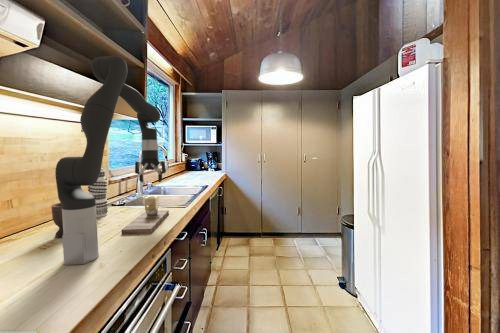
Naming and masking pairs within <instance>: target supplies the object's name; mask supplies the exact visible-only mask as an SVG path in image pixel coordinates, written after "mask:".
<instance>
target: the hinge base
mask: <svg viewBox="0 0 500 333" xmlns="http://www.w3.org/2000/svg"><path fill="white" fill-rule="evenodd" d="M149 198H154V197H149ZM158 209H159V208H158ZM158 209H157V210H151V211H150V212H148V213H146V210H144V211H143V212H142V213H141V214H140V215H139V216H137V217H136V218H135V219H133V220H132V221H131V222H129V223H128V224H127V225H125V226H124V227H122V228H121V230H120V231H121V235H140V234H141V235H143V234H146V235H147V234H148V235H149V234H152V233H153V232H154V231H155V230H156V229H157V228H158V227H159V226H160V225H161V223H162V222H163V221H164V220H165V219H166V218H167V217H168V216H169V214H170V213H169V212H170V210H169V209H168V210H164V209H163V210H158ZM166 216H167V217H166Z"/></svg>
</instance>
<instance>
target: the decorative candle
mask: <svg viewBox="0 0 500 333" xmlns="http://www.w3.org/2000/svg"><path fill="white" fill-rule="evenodd" d="M105 172H106V170H105V169H104V168H103V167H101V171H100V175H99V178H98V180H97V181H96V182H95V183H94V184H93V185H89V186H87V189H88V190H87V191H88V194H90V195H92V196H94V197H95V200H96V218H100V217H101V218H102V217H105V216H108V215H109V211H108V209H109V208H108V204H107V203H108V200H107V194H108V193H107V190H108V188H107V187H108V185H107V183H108V182H107V181H106V180H108V178H107V177H106V173H105Z"/></svg>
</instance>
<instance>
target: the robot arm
mask: <svg viewBox="0 0 500 333" xmlns="http://www.w3.org/2000/svg"><path fill="white" fill-rule="evenodd" d="M91 71H92V73H93V75H94V77H95V78H96V79H97V80H98V81H99V82H101V83H102V85H101V86H100V87H99V88H98V89H97V90H96V91H95V92H94V93H93V94H92V95H90V97H89V98H88V99H87V100H86V102H85V104H84V106H83V108H82V113H81V114H80V121H79V122H80V126H81V129H82V131H83V133H84V135H85V139H86V146H85V150H84V153H83V155H82V156H64V157H61V158H60V159H59V160H58V161H57V163H56V166H55V183H56V189H57V190H56V191H57V197H58V201H59V203H61V205H62V218H63V234H64V235H63V236H62V238H61V240H62V251H63V265H64V266H71V265H85V264H87V263H89V262H92V261H94V260H96V259H97V258H98V257H99V256H100V254H99V240H98V239H99V238H98V220H97V218H98V217H96V200H95V197H94V196H92V195H90V194H89V192H88V193H87V192H86V191H85V190H83V188H82V187H88V186H89V185H93V184H94V183H95V182H96V181H97V180H98V178H99V175H100V171H101V168H102V164H103V157H104V151H105V148H106V143H107V138H108V135H109V131H110V128H111V125H112V123H113V122H112V121H113V118H114V115H115V110H116V107H117V103H118V101H119V97H121V99H122V100H123V101H124V102H125V103H127V105H128V106H129V107H130V108H131V109H132V110H133V111H134V112H135V113H136V118H137V121H138V125H139V127H140V130H141V161H139V160H137V161H135V163H134V174H137V175H139V176H138V178H139V179H138V180H139V182H140V183H145V181H144V173H145V172H146V171H156V173H158V176H157V177H158V180H157V181H158V183H161V182H163V181H162V180H163V175H164V174H165V173H166V172H167V169H166V161H165V160H161V161H160V160H159V145H158V143H159V142H158V133H157V128H155V127H150V126H149V124H150V123H151V124H152V123H153V124H155V123H157V122H159V121H160V120H161V112H160V111H159V109H158V108H157V107H155V106H154V105H153V104H152V103H150V102H148V101H147V100H146V98H145V97H144V96H143V95H142V94H141V93H140V92H139V91H138V90H137V89H135V88H133V87H132V86H131V85H128V84H126V80H127V77H128V72H129V70H128V64H127V62H126V60H125V59H124V58H123V57H122V56H119V55H105V56H98V57H95V58H94V59H92V61H91ZM159 165H160V166H161V169H160V167H159ZM140 166H142V168H141V169H140Z"/></svg>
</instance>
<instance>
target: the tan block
mask: <svg viewBox="0 0 500 333" xmlns="http://www.w3.org/2000/svg"><path fill="white" fill-rule="evenodd" d="M149 197H154V198H149ZM159 204H160V202H159V196H158V195H149V196H146V197H144V211H146V213H148V212H150V211H151V210H157V209H159V208H160V207H159V206H160V205H159Z"/></svg>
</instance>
